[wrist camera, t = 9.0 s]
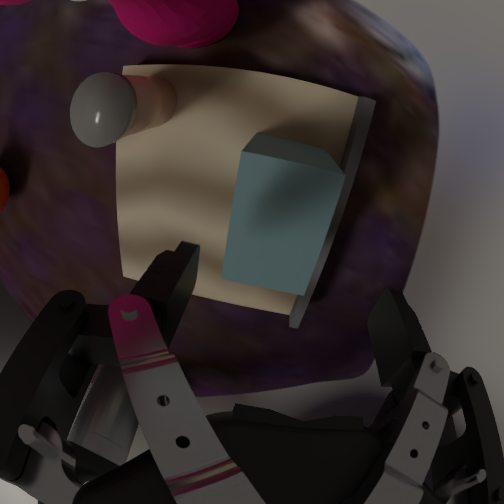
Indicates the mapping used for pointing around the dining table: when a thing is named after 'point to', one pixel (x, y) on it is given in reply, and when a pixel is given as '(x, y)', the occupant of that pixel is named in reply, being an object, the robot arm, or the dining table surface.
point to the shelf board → (224, 168)
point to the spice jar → (120, 106)
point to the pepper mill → (173, 20)
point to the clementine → (3, 189)
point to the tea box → (280, 213)
